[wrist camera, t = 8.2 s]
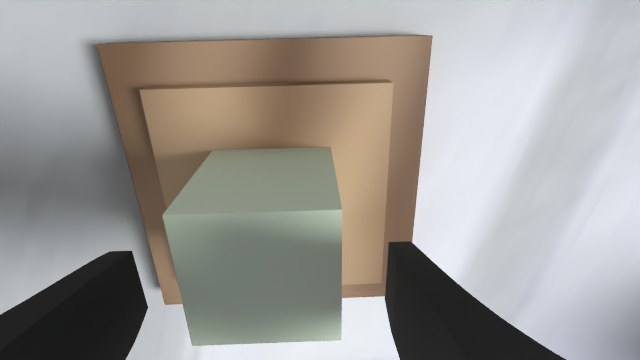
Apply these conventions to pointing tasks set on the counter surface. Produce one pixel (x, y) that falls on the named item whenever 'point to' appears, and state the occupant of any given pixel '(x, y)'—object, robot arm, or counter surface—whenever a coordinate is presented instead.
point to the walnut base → (279, 127)
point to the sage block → (259, 247)
